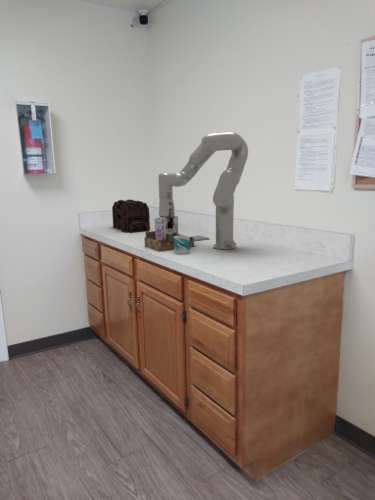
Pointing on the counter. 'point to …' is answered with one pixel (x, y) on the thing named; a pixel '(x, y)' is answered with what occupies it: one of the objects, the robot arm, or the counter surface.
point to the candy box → (165, 228)
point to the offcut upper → (172, 239)
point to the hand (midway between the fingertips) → (166, 227)
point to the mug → (181, 244)
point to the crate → (131, 216)
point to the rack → (160, 242)
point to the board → (200, 238)
